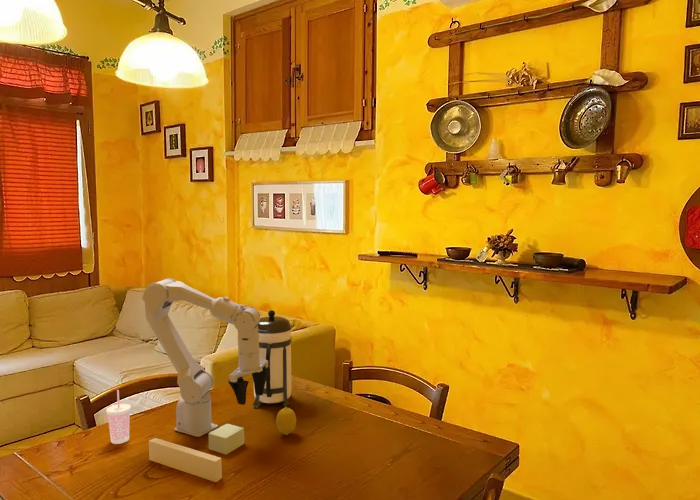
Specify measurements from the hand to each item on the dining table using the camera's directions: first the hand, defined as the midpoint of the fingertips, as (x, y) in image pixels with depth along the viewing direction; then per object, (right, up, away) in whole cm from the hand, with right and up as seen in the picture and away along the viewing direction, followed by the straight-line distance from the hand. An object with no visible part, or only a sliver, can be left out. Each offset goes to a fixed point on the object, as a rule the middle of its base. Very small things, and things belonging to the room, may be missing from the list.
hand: (250, 399), depth 148 cm
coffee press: (+3, -8, +22) cm, 23 cm away
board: (-12, -11, -19) cm, 26 cm away
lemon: (+10, -10, -1) cm, 14 cm away
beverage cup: (-35, -10, -4) cm, 36 cm away
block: (-5, -11, -8) cm, 14 cm away
